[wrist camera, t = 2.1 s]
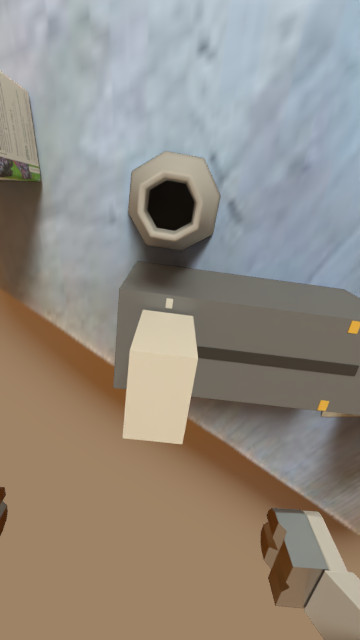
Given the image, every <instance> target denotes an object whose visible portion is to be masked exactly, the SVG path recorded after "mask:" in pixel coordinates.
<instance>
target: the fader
mask: <svg viewBox="0 0 360 640" xmlns="http://www.w3.org/2000/svg"><path fill="white" fill-rule="evenodd" d="M197 362H198V353H197V345H196V336H195V328H194V319H193V316H189V315H181V314H173V313H165V312H158V311H150V310H143V311H142V314H141V317H140V320H139V323H138V326H137V329H136V332H135V336H134V339H133V342H132V345H131V348H130V354H129V366H128V378H127V390H126V403H125V416H124V429H123V438H126V439H136V440H146V441H155V442H165V443H175V444H182V443H183V437H184V432H185V427H186V421H187V416H188V410H189V405H190V400H191V394H192V389H193V383H194V378H195V373H196V367H197Z"/></svg>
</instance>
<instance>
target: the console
mask: <svg viewBox="0 0 360 640" xmlns="http://www.w3.org/2000/svg"><path fill="white" fill-rule="evenodd" d="M143 310H150V311H158V312H165V313H173V314H181V315H189V316H193V319H194V328H195V336H196V345H197V353H198V362H197V367H196V373H195V378H194V383H193V389H192V394H191V397H200V398H209V399H218V400H227V401H236V402H245V403H254V404H263V405H271V406H280V407H289V408H298V409H307V410H316V411H325V412H334V413H343V414H352V415H360V298H359V297H357V296H355V295H353V294H351V293H350V292H348V291H346V290H344V289H337V288H330V287H322V286H315V285H308V284H300V283H293V282H286V281H278V280H271V279H264V278H256V277H249V276H242V275H234V274H227V273H220V272H212V271H205V270H197V269H190V268H183V267H175V266H168V265H161V264H153V263H146V262H139V261H137V263H136V264H135V266H134V267H133V269H132V270H131V272H130V273H129V275H128V276H127V278H126V279H125V281H124V282H123V284H122V285H121V287H120V288H119V303H118V320H117V336H116V352H115V369H114V388H120V389H127V378H128V366H129V354H130V348H131V345H132V342H133V339H134V336H135V332H136V329H137V326H138V323H139V320H140V317H141V314H142V311H143Z"/></svg>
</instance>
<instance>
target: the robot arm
mask: <svg viewBox="0 0 360 640" xmlns="http://www.w3.org/2000/svg"><path fill="white" fill-rule="evenodd" d="M5 495H6V494H5V488H4V487H0V535H1V533H2V531H3V528H4V525H5V522H6V519H7V512H8V510H7V505H6V504H5V503H4V502H3V499H4V497H5ZM267 519H268V522H267V523H265V524H264V525H263V527H262V530H261V549H262V554H263V558H264V561H265V562H266V563H267V565H268V566H269V567H270V568H271V571H270V574H269V577H268V579H269V583H270V586H271V591H272V594H273V598H274V602H275V606H284V607H294V608H305V609H304V611H305V612H306V614H307V615H308V617H309V618H310V620H311V621H312V623H313V624H314V626H315V627H316V629H317V630H318V631H319V633H320V634H321V636H322V637H323V639H324V640H360V579H359V578H358V577H357V576H356V575H355V574H354V573H353V572H348V571H347V569H346V567H345V564H344V562H343V560H342V558H341V556H340V554H339V552H338V550H337V547H336V545H335V543H334V541H333V539H332V537H331V535H330V533H329V531H328V529H327V526H326V524H325V522H324V520H323V518H322V516H321V515H320V514H319V513H318V512H316V511H301V510H294V509H278V508H271V509H269V511H268V514H267Z"/></svg>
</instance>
